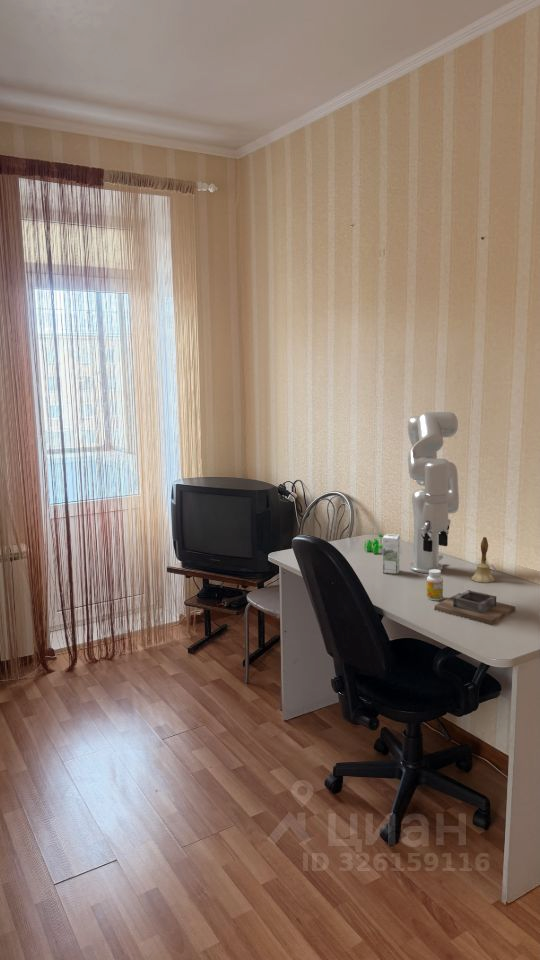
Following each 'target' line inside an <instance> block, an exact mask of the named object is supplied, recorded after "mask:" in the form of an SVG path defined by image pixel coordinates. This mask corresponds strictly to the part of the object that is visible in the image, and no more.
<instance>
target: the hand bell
mask: <svg viewBox="0 0 540 960" xmlns="http://www.w3.org/2000/svg"><path fill="white" fill-rule="evenodd" d="M480 550H481V560H480V563H479V564H477V565H476V569H475V573H474V574H473V575H472V576H471V580H472V581H475V582H476V583H477V582H478V583H483V584H484V583H488V584H489V583H493V582H495V581H496V579H495V577H494V576H493V575H492V572H491V566H490V565H489V564H488V563H487V553H488V550H489V543H488V538H487V537H486V536H483V537H482V540H481V542H480Z"/></svg>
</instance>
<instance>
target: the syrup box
mask: <svg viewBox="0 0 540 960" xmlns="http://www.w3.org/2000/svg"><path fill="white" fill-rule="evenodd" d="M383 535H384V537H382V545H383V548H382V574H387V573H388V574H390V575H398V574H399V572H400V551H401V550H400V545H401V543H400V542H401V541H400V538H401V537H400V536H401V535H400V534H392V533H391V534H390V533H385V534H383Z"/></svg>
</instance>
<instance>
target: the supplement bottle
mask: <svg viewBox="0 0 540 960" xmlns="http://www.w3.org/2000/svg"><path fill="white" fill-rule="evenodd" d="M441 575H442V570H441V571H440V570H437V569H431V570H429V573H428V576H427V577H426V598H427V600H431V601H441V600H442V599H443V598H444V597H443V593H444V592H443V591H444V583H443V582H444V578H443V577H442V576H441Z"/></svg>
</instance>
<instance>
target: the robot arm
mask: <svg viewBox="0 0 540 960" xmlns="http://www.w3.org/2000/svg"><path fill="white" fill-rule="evenodd" d="M458 429H459V420H458V417H457V415H456V414H455V413H454V412H452V411H428V412H427V411H426V412H424V413H422V414H420V415H416V416H413V417H411V418H409V420H408V422H407V433H408V437H409V440H410V444H411V446H412V447H411V448H410V450H409V452H408V456H407V465H408V466H407V468H408V474H409V477H410V478H411V479H412V480H413V481H415V482H416V484H417V485H418V486H422V487H423V486H424V488H422V489H421V488H420V489H417V490H415V491H413V493H412V496H411V503H412V511H413V562H412V563H409V569H410V570H411V571H413V572H416V573H421V574H429V570H431V569H437V570H440V571H441V572H442V571H443V564H441V563H440V561H441V560H443V559H444V555H443V554H439V553H440V551H439V549H440V548H439V547H440V546H441V547H448V545H449V544H448V542H449V541H448V539H449V538H448V537H449V536H448V535H449V534H450V533H449V531H450V525H451V520H450V519H449V515H450V514H451V515H452V514H456V513H457V512H458V510H459V508H460V507H459V505H460V496H459V477H458V475H459V474H458V469H457V466H456V465H455V463H454V462H452V461H449V460H448V459H446V458H438V456H437V455H438V451H440V450H441V449H442V447H443V446H444V438H451V437H453V436H454V435H456V434H457V431H458Z"/></svg>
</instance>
